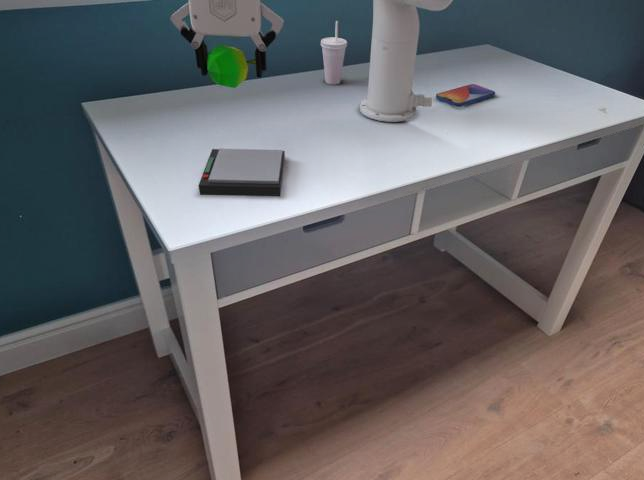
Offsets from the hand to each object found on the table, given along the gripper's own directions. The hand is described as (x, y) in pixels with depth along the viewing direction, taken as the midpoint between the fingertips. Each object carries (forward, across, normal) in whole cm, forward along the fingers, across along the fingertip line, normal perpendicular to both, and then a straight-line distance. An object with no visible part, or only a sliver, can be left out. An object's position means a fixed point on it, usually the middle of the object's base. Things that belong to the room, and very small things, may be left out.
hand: (233, 73), depth 80 cm
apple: (+2, 0, 0) cm, 2 cm away
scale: (+16, +1, -4) cm, 17 cm away
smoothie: (+16, +17, +45) cm, 50 cm away
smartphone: (+16, +49, +37) cm, 63 cm away
